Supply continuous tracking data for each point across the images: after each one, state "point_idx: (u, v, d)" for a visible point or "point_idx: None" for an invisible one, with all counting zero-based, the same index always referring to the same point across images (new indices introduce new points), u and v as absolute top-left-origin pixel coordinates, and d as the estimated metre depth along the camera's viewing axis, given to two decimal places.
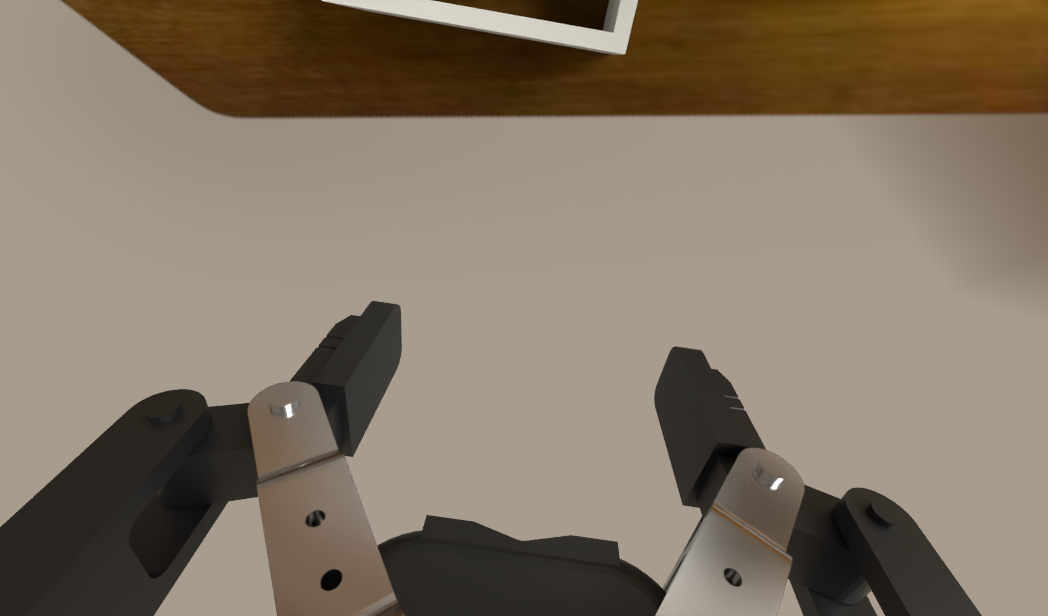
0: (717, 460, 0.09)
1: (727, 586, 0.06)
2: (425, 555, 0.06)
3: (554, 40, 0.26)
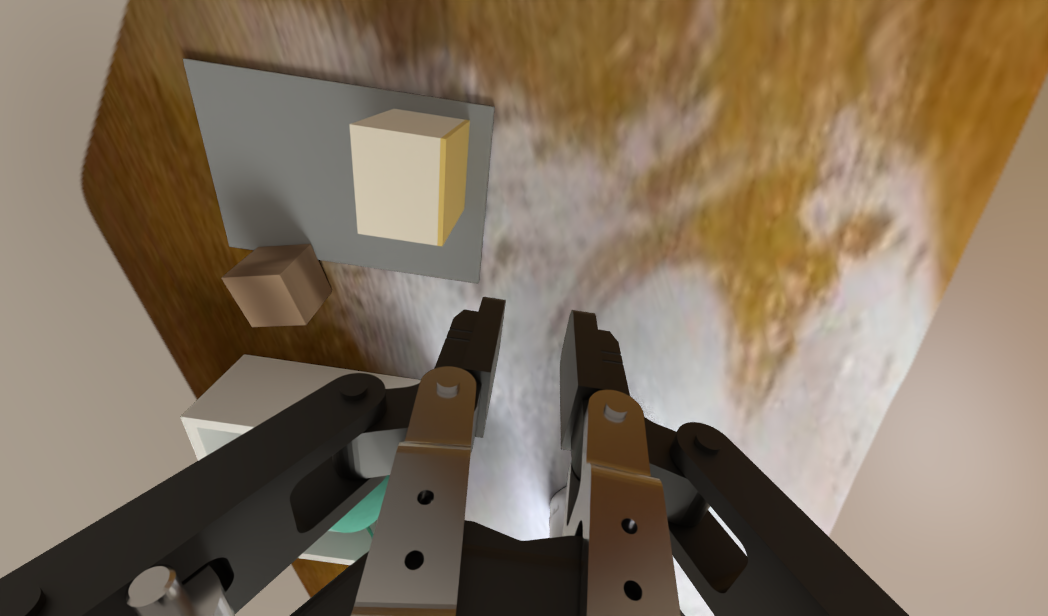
0: (582, 404, 0.10)
1: (628, 537, 0.06)
2: None
3: None
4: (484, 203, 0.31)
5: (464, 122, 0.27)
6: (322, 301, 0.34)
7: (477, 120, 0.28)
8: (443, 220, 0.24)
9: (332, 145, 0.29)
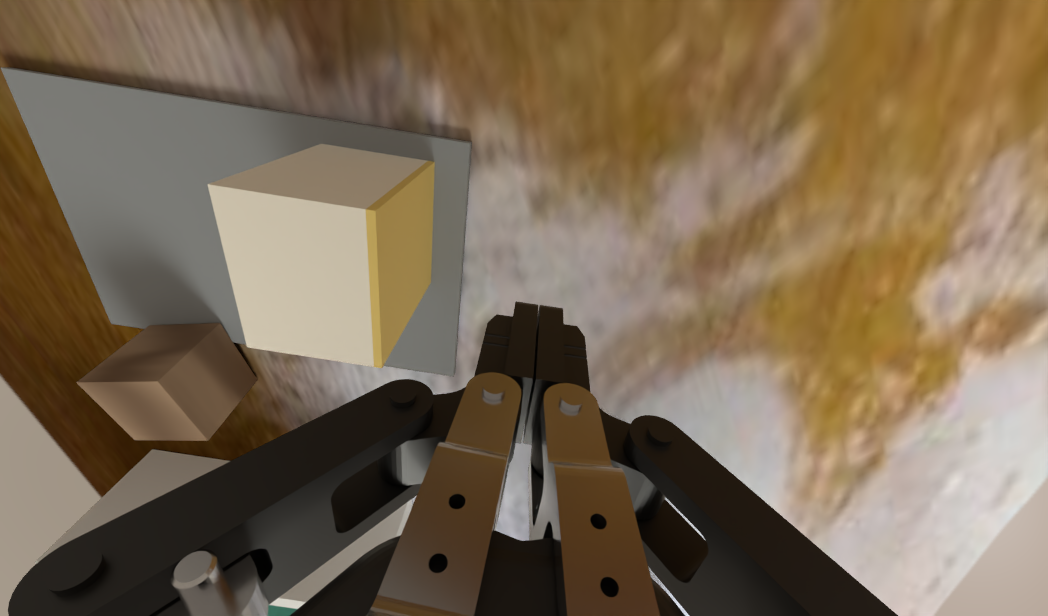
0: (541, 398, 0.10)
1: (598, 532, 0.06)
2: None
3: None
4: (459, 275, 0.21)
5: (424, 167, 0.18)
6: (239, 398, 0.25)
7: (446, 162, 0.19)
8: (381, 331, 0.15)
9: None
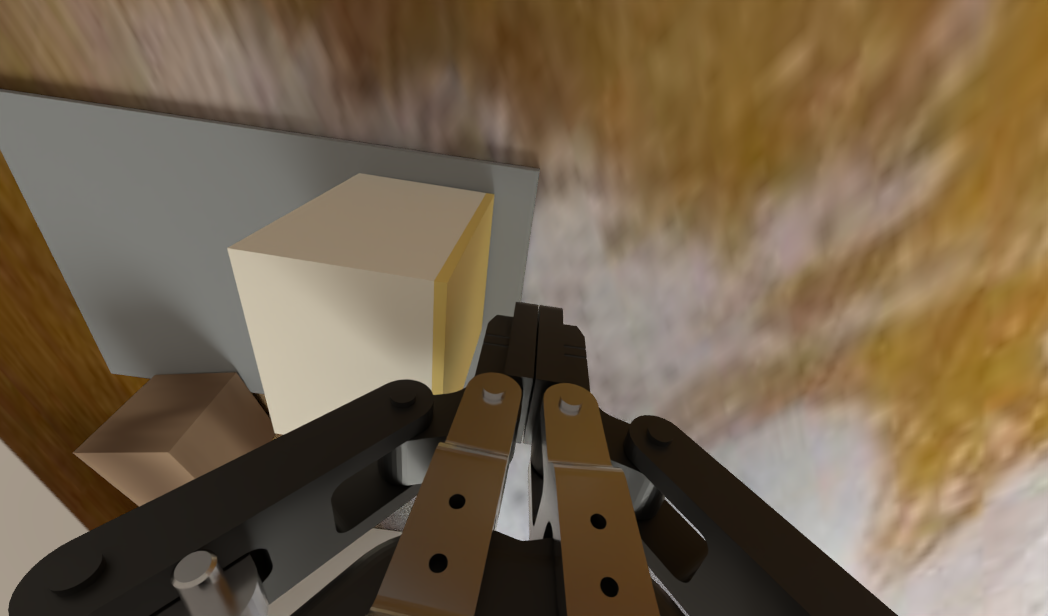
0: (541, 398, 0.10)
1: (598, 532, 0.06)
2: None
3: None
4: None
5: (485, 203, 0.14)
6: None
7: (508, 193, 0.16)
8: None
9: None
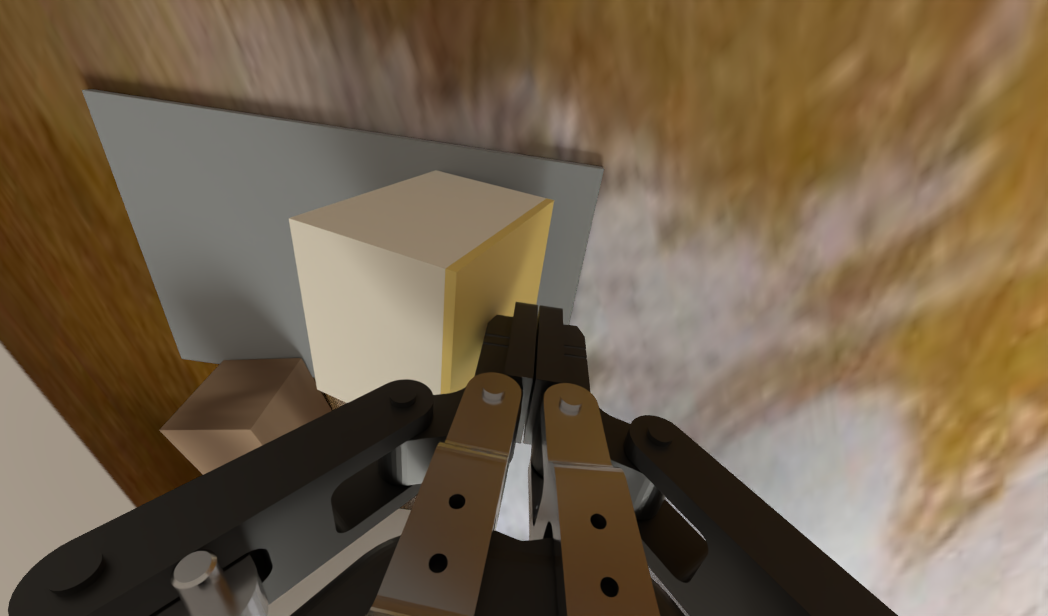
0: (541, 398, 0.10)
1: (598, 532, 0.06)
2: None
3: None
4: (570, 308, 0.20)
5: (539, 207, 0.14)
6: None
7: (573, 189, 0.17)
8: None
9: None
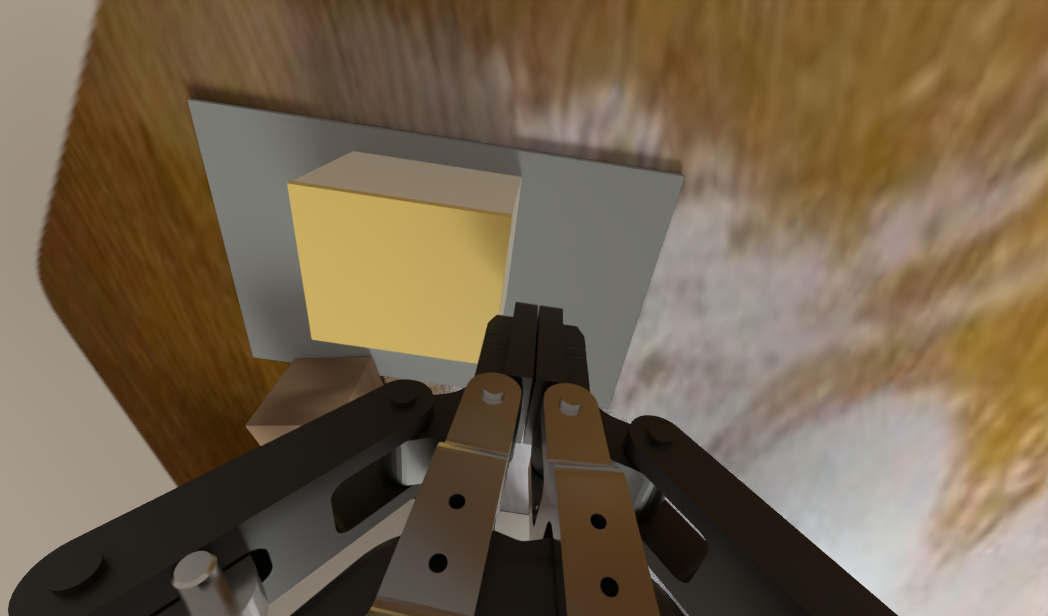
0: (541, 398, 0.10)
1: (599, 533, 0.06)
2: None
3: None
4: (639, 309, 0.20)
5: (474, 210, 0.13)
6: None
7: (653, 195, 0.18)
8: (309, 305, 0.15)
9: None
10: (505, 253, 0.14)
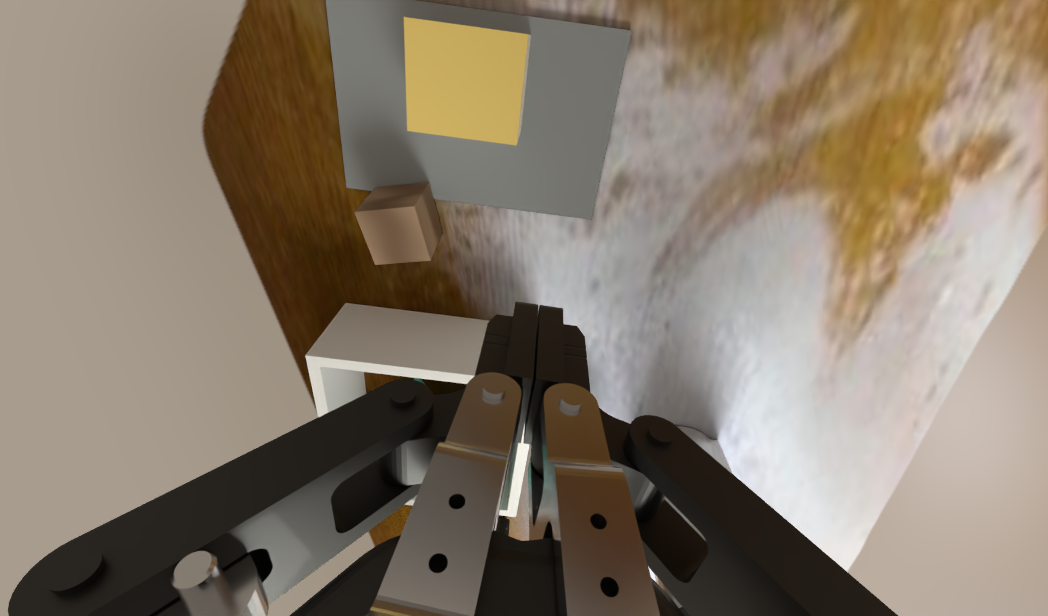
0: (541, 398, 0.10)
1: (598, 532, 0.06)
2: None
3: None
4: (608, 133, 0.31)
5: (507, 31, 0.24)
6: (438, 240, 0.35)
7: (613, 45, 0.28)
8: (408, 104, 0.26)
9: None
10: (524, 59, 0.24)
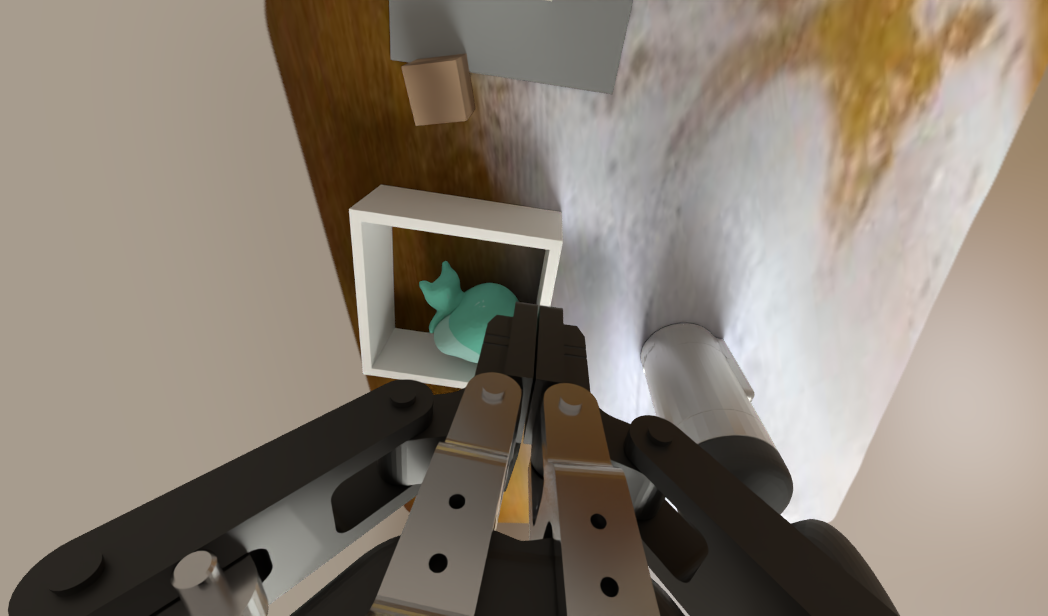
0: (541, 398, 0.10)
1: (598, 532, 0.06)
2: None
3: (360, 341, 0.45)
4: (631, 4, 0.34)
5: None
6: (472, 111, 0.38)
7: None
8: None
9: None
10: None
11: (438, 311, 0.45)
